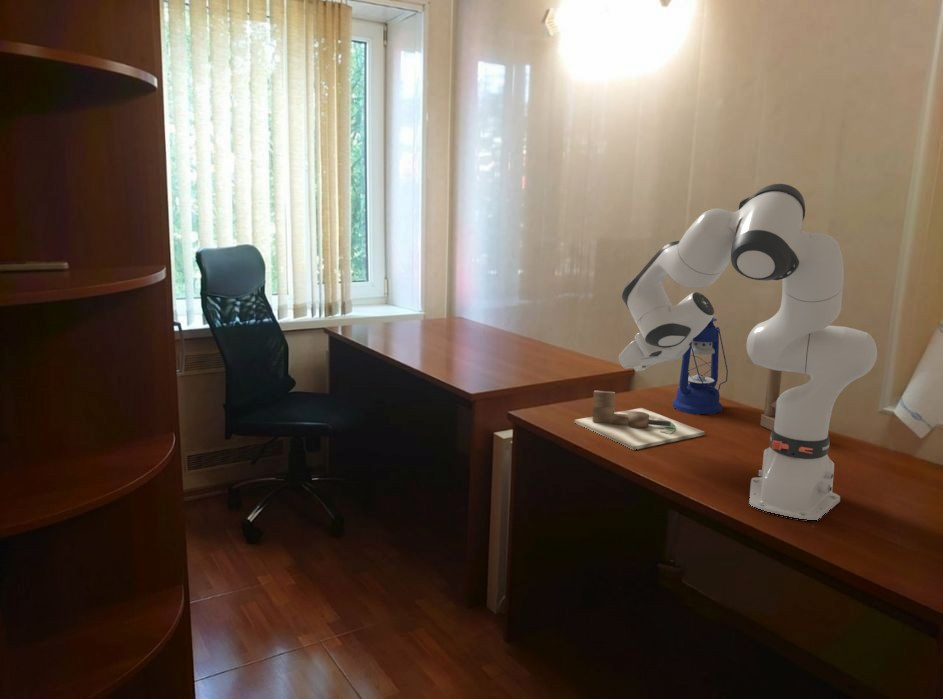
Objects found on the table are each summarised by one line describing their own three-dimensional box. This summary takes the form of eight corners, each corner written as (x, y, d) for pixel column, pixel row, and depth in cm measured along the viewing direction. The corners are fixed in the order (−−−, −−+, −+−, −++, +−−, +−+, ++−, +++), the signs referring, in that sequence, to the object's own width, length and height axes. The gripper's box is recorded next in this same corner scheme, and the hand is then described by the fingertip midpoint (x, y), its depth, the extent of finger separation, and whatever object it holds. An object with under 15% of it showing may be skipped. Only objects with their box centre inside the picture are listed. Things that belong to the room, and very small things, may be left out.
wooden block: (784, 437, 199) (791, 375, 195) (759, 425, 209) (765, 366, 206) (795, 436, 200) (802, 374, 196) (770, 424, 210) (775, 365, 207)
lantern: (695, 398, 238) (702, 309, 231) (734, 409, 225) (742, 316, 219) (660, 406, 229) (665, 314, 222) (698, 418, 216) (705, 321, 210)
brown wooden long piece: (591, 423, 207) (592, 393, 205) (594, 417, 212) (595, 388, 210) (669, 430, 201) (671, 400, 199) (670, 424, 206) (672, 394, 204)
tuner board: (633, 450, 189) (633, 445, 189) (574, 423, 211) (574, 418, 211) (704, 435, 201) (704, 430, 201) (641, 410, 223) (641, 406, 223)
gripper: (690, 326, 188) (661, 354, 199) (632, 333, 178) (604, 363, 189) (702, 345, 186) (672, 373, 196) (643, 354, 176) (615, 383, 186)
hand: (638, 368), depth 192 cm, fingers closed
